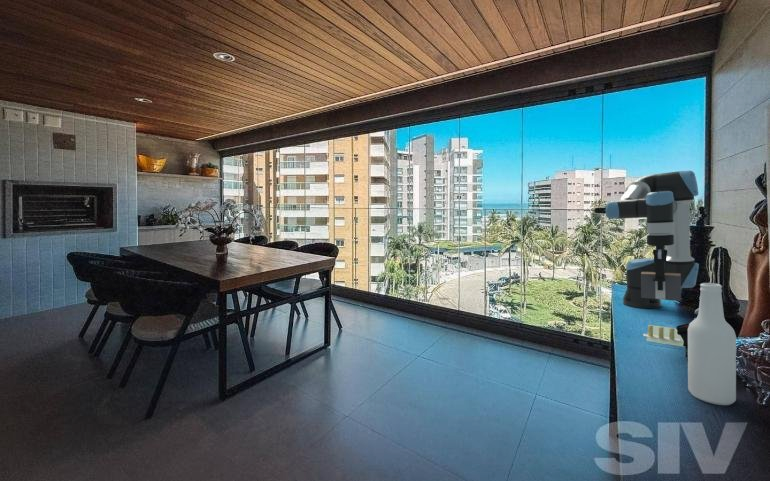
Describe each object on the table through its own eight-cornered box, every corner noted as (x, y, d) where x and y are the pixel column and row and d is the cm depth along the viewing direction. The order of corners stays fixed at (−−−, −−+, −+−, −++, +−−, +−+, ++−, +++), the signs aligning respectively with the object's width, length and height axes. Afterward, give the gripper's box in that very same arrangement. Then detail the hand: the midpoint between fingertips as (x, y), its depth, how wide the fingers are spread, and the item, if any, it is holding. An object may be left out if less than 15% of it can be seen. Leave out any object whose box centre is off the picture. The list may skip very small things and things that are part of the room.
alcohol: (724, 390, 87) (724, 281, 85) (744, 409, 79) (744, 288, 77) (682, 385, 90) (681, 280, 88) (696, 402, 82) (696, 287, 80)
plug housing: (642, 294, 124) (641, 271, 124) (680, 297, 117) (680, 273, 116) (641, 297, 121) (640, 273, 120) (681, 301, 113) (680, 275, 113)
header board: (645, 327, 134) (645, 315, 133) (689, 333, 125) (689, 320, 124) (642, 343, 119) (641, 329, 119) (691, 351, 110) (691, 336, 110)
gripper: (648, 232, 126) (649, 290, 128) (644, 236, 113) (645, 301, 115) (673, 232, 121) (674, 292, 123) (673, 236, 108) (674, 304, 109)
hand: (660, 296), depth 119 cm, fingers closed on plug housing, 5 cm apart
